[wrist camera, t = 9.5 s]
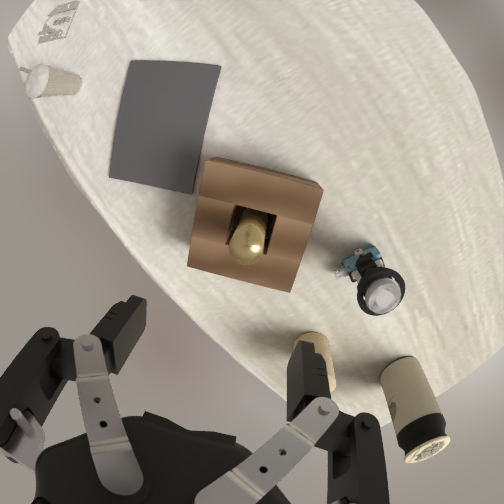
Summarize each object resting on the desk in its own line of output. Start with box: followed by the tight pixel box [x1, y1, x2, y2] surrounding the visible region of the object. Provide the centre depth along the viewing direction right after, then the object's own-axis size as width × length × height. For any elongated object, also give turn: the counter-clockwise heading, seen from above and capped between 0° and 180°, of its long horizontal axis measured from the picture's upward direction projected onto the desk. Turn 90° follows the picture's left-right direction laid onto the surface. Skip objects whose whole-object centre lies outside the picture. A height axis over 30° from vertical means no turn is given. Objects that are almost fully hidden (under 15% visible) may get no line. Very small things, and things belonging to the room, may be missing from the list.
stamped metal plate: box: [37, 1, 80, 44], centre depth 23 cm, size 8×7×2 cm
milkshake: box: [19, 64, 82, 99], centre depth 23 cm, size 5×5×10 cm
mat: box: [109, 61, 221, 194], centre depth 29 cm, size 16×12×1 cm
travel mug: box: [380, 357, 450, 463], centre depth 33 cm, size 8×8×18 cm
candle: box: [293, 332, 336, 393], centre depth 36 cm, size 6×6×10 cm
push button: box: [333, 246, 405, 316], centre depth 30 cm, size 7×5×10 cm
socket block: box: [187, 157, 324, 293], centre depth 31 cm, size 12×12×5 cm
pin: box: [229, 208, 268, 265], centre depth 29 cm, size 3×3×10 cm
